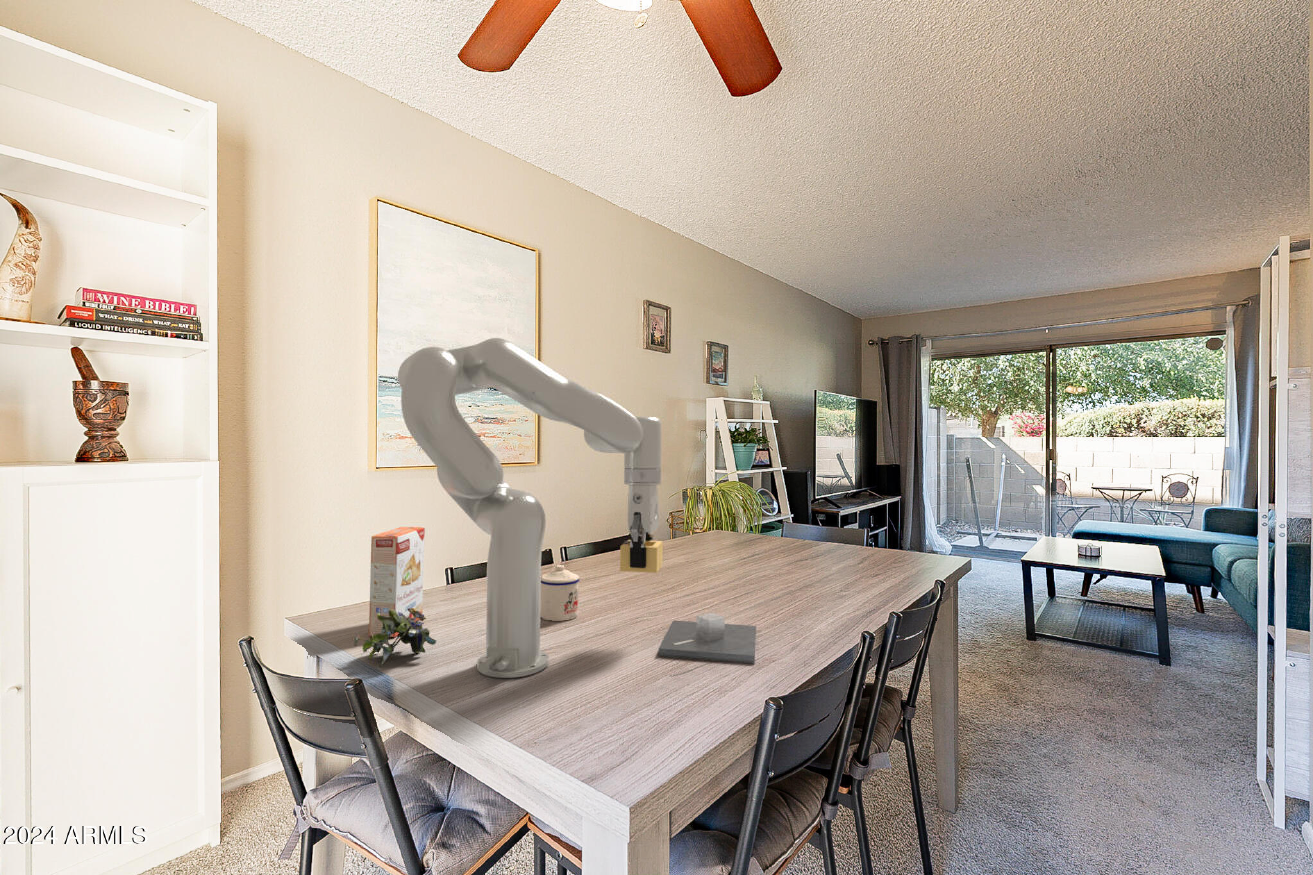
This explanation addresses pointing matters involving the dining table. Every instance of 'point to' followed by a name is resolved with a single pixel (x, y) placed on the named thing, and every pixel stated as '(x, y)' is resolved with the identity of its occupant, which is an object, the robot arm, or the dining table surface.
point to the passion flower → (407, 632)
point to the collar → (652, 557)
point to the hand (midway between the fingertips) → (641, 562)
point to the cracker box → (396, 574)
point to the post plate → (710, 640)
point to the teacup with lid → (559, 595)
